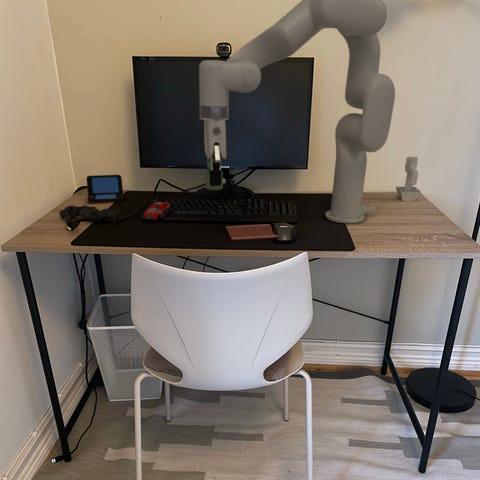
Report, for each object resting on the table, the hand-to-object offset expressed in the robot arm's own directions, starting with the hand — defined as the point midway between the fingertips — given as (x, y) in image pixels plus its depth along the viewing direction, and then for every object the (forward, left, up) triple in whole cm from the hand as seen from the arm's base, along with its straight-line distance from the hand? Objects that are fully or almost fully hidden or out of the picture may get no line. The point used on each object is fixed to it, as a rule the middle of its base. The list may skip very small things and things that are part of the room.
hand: (214, 182), depth 137 cm
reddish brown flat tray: (-11, 0, -15) cm, 19 cm away
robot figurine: (+38, -20, -15) cm, 46 cm away
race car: (+16, -21, -15) cm, 31 cm away
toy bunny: (0, 0, -2) cm, 2 cm away
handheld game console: (+34, -45, -15) cm, 59 cm away
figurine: (-75, -27, -15) cm, 81 cm away
